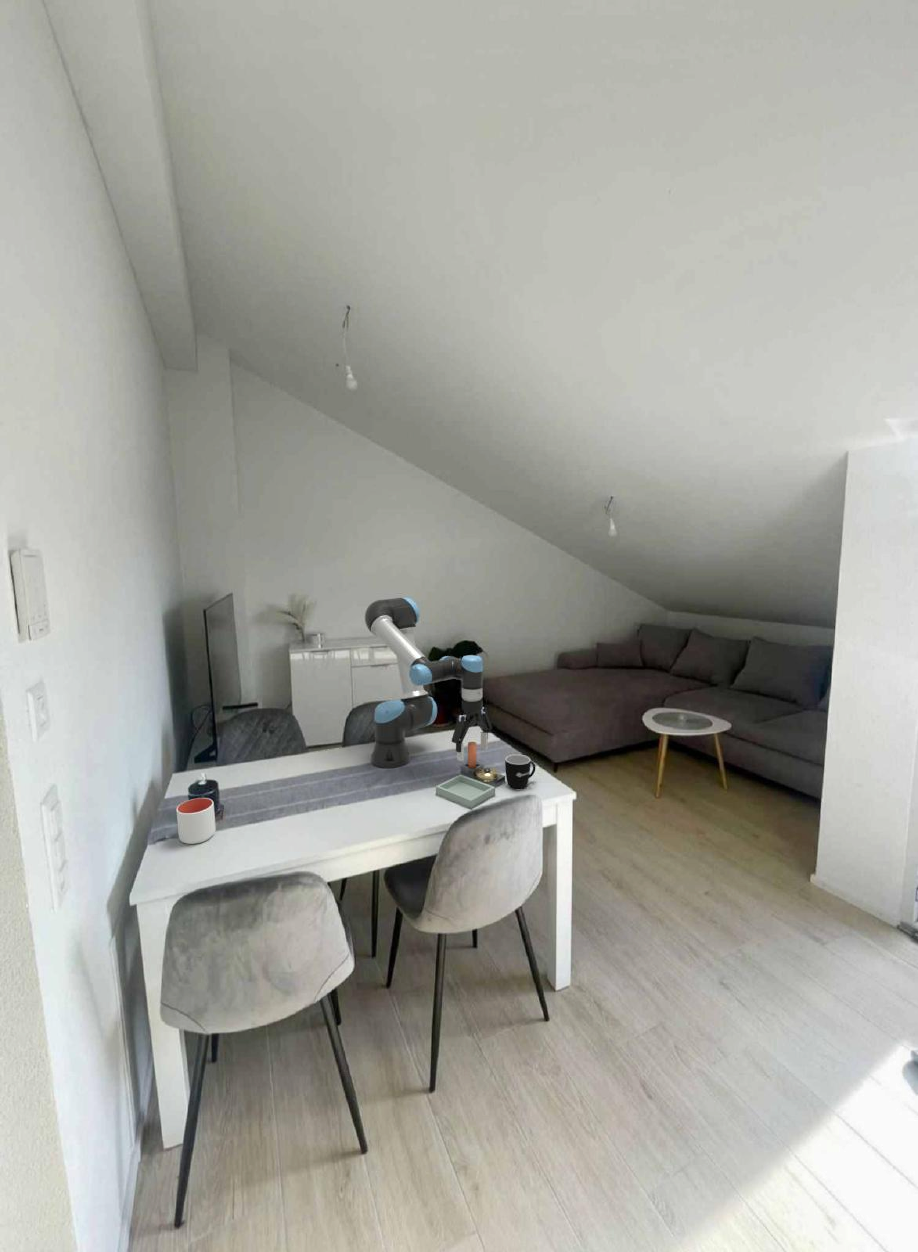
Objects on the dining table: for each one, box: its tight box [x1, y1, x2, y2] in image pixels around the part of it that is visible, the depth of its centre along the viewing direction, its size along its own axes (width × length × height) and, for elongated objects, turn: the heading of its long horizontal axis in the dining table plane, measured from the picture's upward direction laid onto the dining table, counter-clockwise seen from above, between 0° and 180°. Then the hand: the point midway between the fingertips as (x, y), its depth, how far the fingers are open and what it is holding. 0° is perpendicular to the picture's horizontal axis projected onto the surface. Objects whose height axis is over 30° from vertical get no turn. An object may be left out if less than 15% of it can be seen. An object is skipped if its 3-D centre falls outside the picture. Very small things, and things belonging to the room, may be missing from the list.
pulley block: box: [455, 761, 506, 789], centre depth 203 cm, size 15×10×6 cm, turn 49°
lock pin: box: [467, 741, 478, 768], centre depth 205 cm, size 3×3×11 cm
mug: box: [504, 753, 536, 791], centre depth 200 cm, size 12×9×10 cm
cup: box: [175, 797, 217, 845], centre depth 166 cm, size 10×10×10 cm
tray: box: [435, 774, 496, 810], centre depth 193 cm, size 16×13×3 cm
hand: (472, 754), depth 205 cm, fingers open, 13 cm apart
